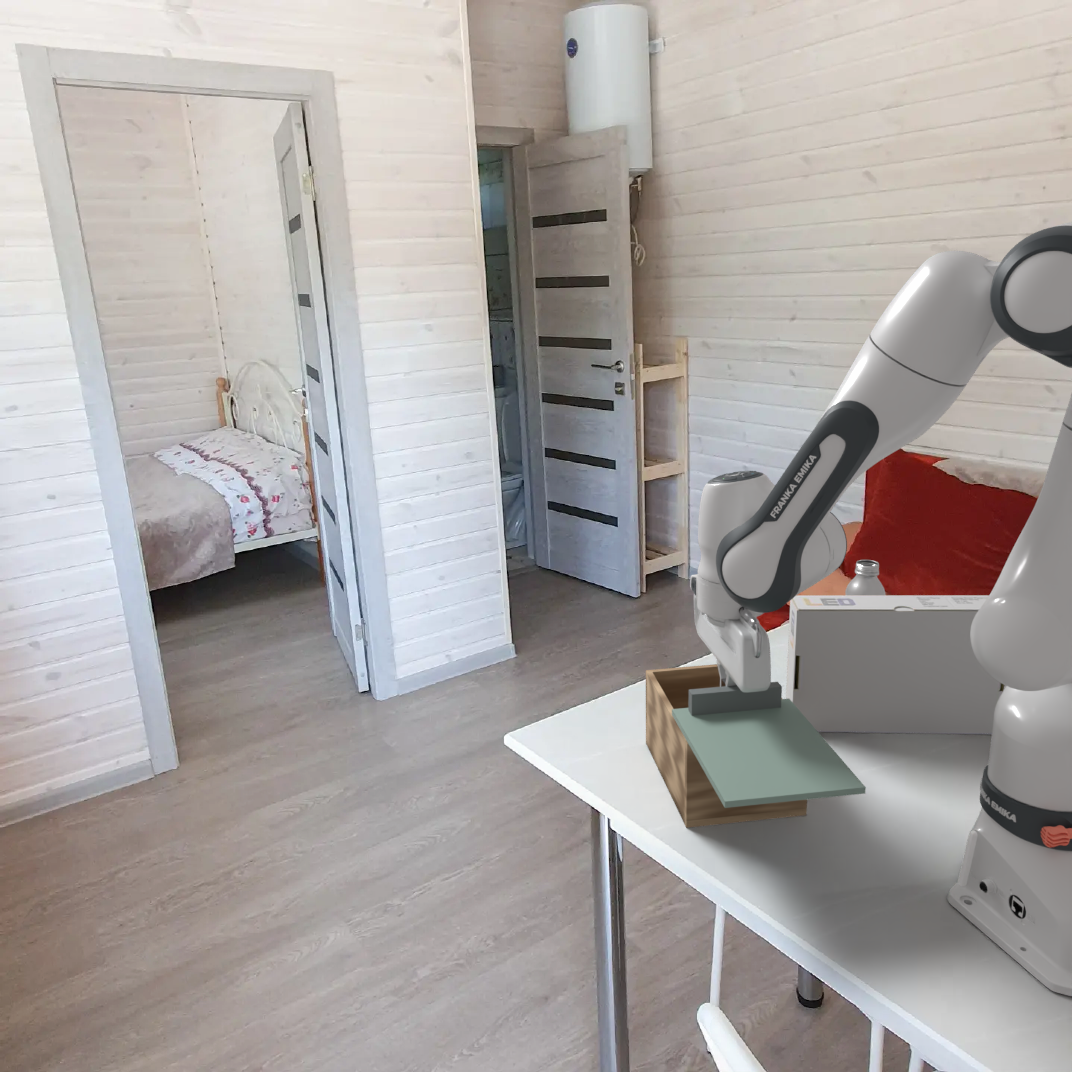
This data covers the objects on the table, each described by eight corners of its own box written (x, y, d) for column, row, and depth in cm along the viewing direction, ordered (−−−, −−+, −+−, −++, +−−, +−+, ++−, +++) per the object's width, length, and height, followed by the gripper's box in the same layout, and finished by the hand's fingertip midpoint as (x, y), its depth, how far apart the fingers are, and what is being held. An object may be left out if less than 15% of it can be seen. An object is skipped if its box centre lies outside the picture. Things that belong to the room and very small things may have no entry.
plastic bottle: (855, 683, 155) (862, 571, 149) (832, 667, 161) (839, 559, 156) (888, 677, 157) (897, 566, 151) (864, 662, 163) (872, 555, 157)
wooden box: (806, 815, 119) (810, 732, 116) (686, 827, 117) (687, 743, 114) (748, 733, 140) (750, 661, 137) (645, 743, 138) (645, 670, 135)
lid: (865, 793, 101) (867, 762, 100) (724, 807, 100) (725, 777, 99) (788, 703, 122) (790, 677, 121) (671, 714, 121) (672, 688, 120)
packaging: (984, 716, 143) (997, 595, 137) (999, 735, 137) (1014, 610, 131) (785, 713, 146) (790, 595, 140) (791, 732, 140) (797, 609, 134)
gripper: (786, 622, 108) (782, 728, 112) (730, 569, 128) (728, 660, 132) (734, 627, 108) (732, 732, 112) (686, 572, 127) (685, 664, 131)
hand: (729, 693), depth 122 cm, fingers closed
